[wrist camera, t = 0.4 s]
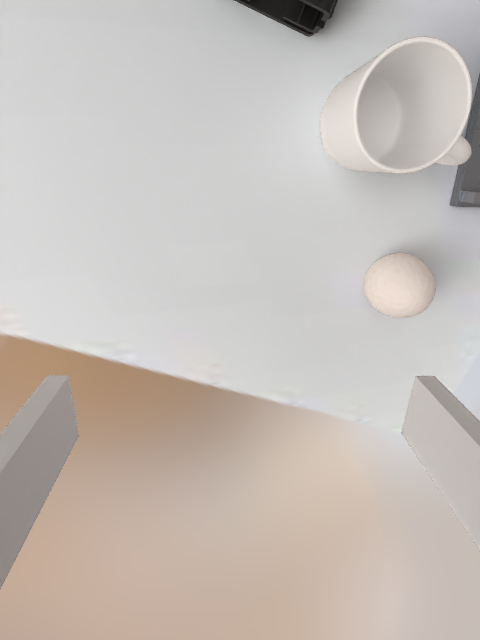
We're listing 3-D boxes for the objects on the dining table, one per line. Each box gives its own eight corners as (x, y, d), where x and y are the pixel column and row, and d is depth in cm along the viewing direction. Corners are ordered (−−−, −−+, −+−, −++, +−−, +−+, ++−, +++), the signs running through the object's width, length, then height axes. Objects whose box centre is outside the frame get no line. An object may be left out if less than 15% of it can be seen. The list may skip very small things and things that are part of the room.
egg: (380, 234, 39) (417, 251, 32) (423, 266, 41) (468, 289, 34) (342, 283, 41) (369, 310, 34) (385, 312, 43) (419, 342, 36)
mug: (453, 119, 35) (538, 103, 26) (403, 201, 38) (464, 214, 29) (346, 52, 33) (397, 9, 24) (301, 146, 36) (331, 140, 26)
